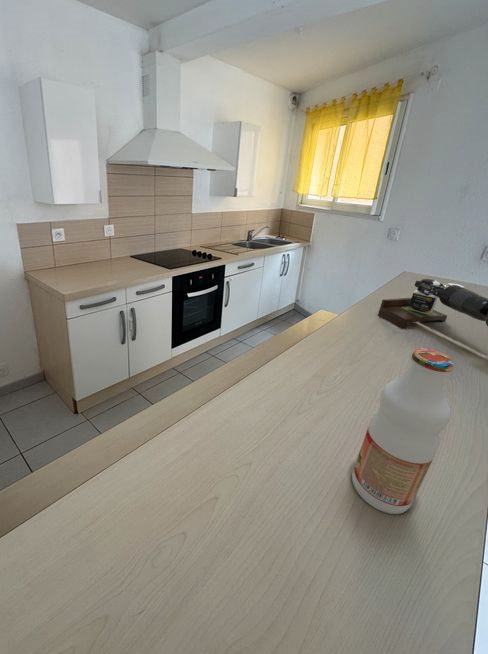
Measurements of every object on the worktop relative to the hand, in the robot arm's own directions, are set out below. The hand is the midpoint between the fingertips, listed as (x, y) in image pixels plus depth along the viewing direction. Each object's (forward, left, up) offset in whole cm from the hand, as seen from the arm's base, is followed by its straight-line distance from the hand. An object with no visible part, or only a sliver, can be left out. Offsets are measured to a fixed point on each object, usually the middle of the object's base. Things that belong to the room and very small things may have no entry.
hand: (424, 283), depth 123 cm
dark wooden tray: (+2, +1, -15) cm, 15 cm away
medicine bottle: (0, +2, -10) cm, 10 cm away
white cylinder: (-40, -15, -15) cm, 45 cm away
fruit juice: (+73, +59, -15) cm, 96 cm away
